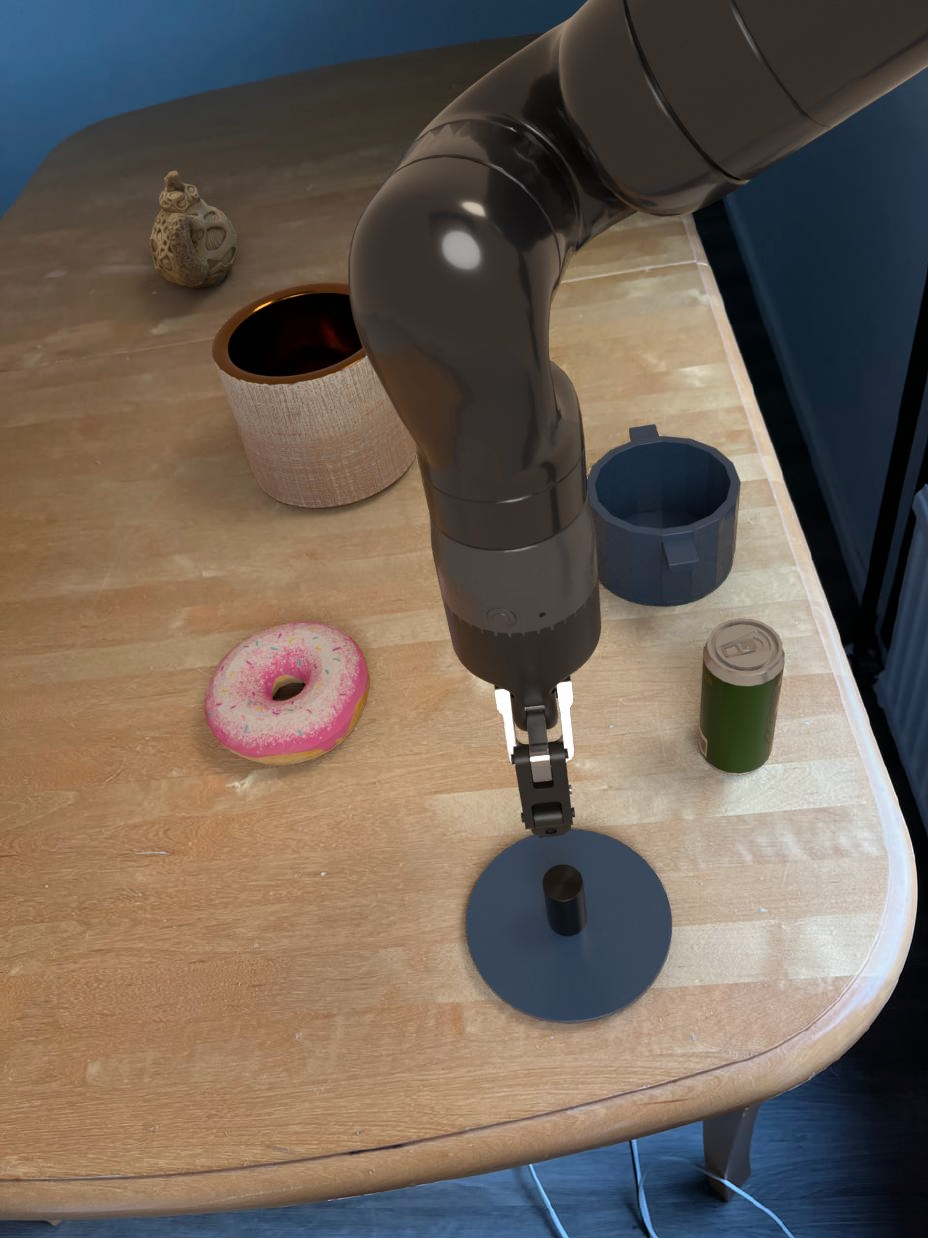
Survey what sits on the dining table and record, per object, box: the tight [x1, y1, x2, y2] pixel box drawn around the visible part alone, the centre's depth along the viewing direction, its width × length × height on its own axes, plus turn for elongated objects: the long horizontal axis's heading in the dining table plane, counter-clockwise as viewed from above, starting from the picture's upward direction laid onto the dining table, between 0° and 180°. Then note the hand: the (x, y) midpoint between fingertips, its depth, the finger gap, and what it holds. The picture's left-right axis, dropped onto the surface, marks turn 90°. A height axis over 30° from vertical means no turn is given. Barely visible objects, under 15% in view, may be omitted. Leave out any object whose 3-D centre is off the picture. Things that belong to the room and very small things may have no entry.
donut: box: [204, 621, 371, 766], centre depth 84 cm, size 14×13×5 cm
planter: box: [211, 281, 417, 510], centre depth 102 cm, size 18×18×16 cm
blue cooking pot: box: [587, 423, 742, 608], centre depth 89 cm, size 13×18×8 cm
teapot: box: [148, 170, 239, 290], centre depth 133 cm, size 21×12×15 cm, turn 13°
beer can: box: [697, 617, 786, 777], centre depth 73 cm, size 5×5×12 cm
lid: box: [465, 828, 673, 1025], centre depth 67 cm, size 14×14×6 cm
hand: (544, 765), depth 60 cm, fingers open, 8 cm apart
